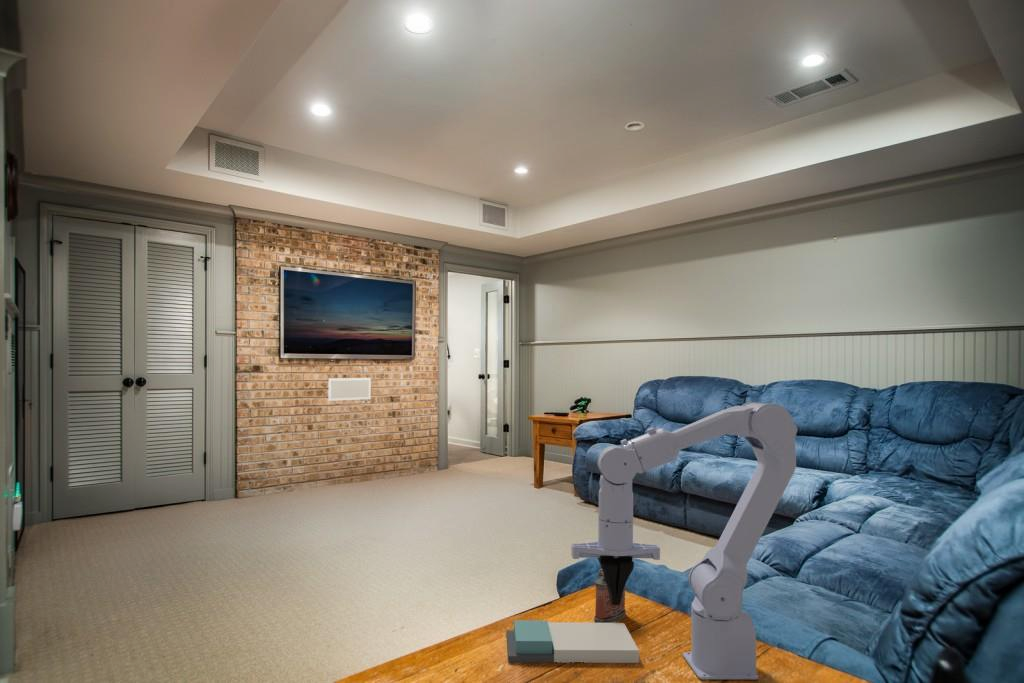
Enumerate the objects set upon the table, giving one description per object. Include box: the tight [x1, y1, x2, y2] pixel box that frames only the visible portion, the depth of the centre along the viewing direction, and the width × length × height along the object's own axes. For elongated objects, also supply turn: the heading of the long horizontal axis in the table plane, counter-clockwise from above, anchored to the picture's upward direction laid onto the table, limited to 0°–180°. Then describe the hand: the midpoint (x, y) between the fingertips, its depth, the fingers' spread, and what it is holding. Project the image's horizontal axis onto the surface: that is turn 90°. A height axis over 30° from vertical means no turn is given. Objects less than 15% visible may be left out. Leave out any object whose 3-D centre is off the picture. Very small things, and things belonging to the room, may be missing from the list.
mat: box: [505, 629, 554, 664], centre depth 96 cm, size 8×10×1 cm
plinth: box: [548, 621, 640, 664], centre depth 97 cm, size 14×10×2 cm
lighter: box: [593, 568, 627, 623], centre depth 110 cm, size 8×3×10 cm, turn 133°
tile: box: [513, 619, 552, 654], centre depth 97 cm, size 6×8×2 cm
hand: (614, 602), depth 93 cm, fingers closed
